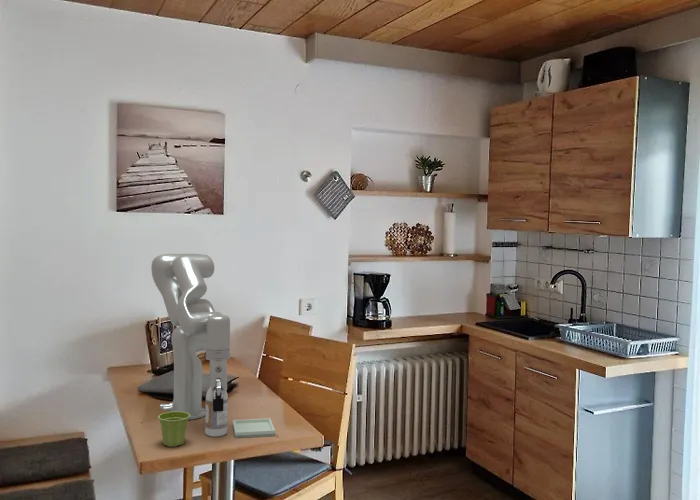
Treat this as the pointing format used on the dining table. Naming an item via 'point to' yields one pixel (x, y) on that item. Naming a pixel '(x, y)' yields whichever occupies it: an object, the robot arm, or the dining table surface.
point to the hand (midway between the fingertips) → (217, 406)
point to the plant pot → (173, 427)
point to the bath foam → (216, 416)
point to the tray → (253, 428)
